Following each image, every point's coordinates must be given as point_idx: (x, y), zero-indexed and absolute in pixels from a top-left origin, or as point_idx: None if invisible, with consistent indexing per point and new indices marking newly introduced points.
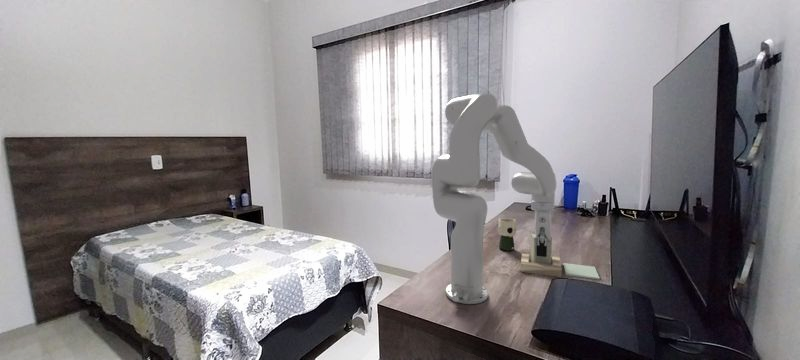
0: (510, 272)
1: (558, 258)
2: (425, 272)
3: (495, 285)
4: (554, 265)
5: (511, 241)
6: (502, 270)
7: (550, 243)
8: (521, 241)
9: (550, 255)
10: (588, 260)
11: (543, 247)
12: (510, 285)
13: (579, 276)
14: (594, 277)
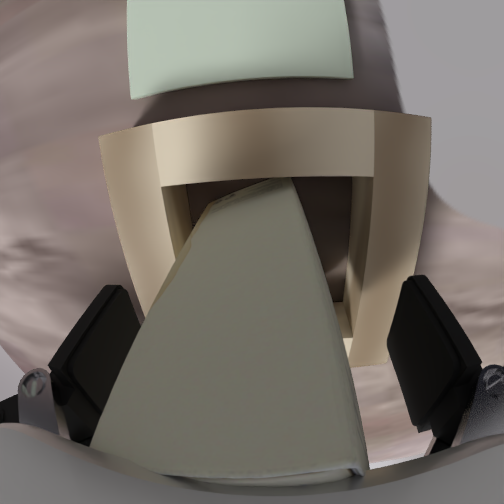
0: (388, 357)
1: (164, 131)
2: (398, 458)
3: (482, 361)
4: (377, 166)
5: None
6: (370, 380)
7: (340, 341)
8: (2, 316)
9: (305, 223)
10: (33, 15)
11: (475, 372)
12: (489, 331)
13: (341, 2)
14: None
